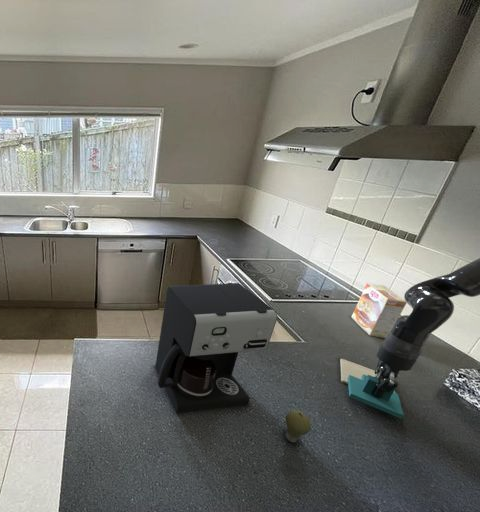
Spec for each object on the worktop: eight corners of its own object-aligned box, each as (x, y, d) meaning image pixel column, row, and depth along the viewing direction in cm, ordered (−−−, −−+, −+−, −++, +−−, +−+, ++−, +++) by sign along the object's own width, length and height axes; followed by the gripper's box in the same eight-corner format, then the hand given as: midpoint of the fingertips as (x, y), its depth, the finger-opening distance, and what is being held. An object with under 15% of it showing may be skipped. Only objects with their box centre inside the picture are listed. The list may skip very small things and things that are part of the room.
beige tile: (389, 379, 101) (390, 376, 100) (395, 405, 90) (397, 402, 90) (339, 361, 108) (341, 358, 108) (340, 383, 98) (342, 380, 98)
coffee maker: (164, 418, 83) (182, 320, 70) (143, 369, 101) (155, 283, 87) (248, 408, 87) (281, 314, 74) (215, 362, 105) (236, 280, 92)
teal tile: (393, 390, 92) (403, 375, 90) (401, 419, 82) (412, 403, 80) (347, 371, 99) (354, 357, 96) (349, 396, 89) (357, 381, 86)
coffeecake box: (349, 317, 137) (366, 282, 130) (367, 320, 135) (384, 285, 128) (368, 336, 124) (387, 298, 116) (387, 339, 122) (408, 301, 114)
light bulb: (274, 434, 80) (284, 409, 76) (286, 427, 82) (297, 403, 78) (293, 453, 75) (305, 427, 71) (306, 445, 77) (318, 420, 73)
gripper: (424, 369, 75) (395, 415, 81) (413, 343, 85) (388, 385, 91) (386, 356, 79) (361, 400, 85) (379, 332, 89) (358, 374, 96)
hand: (375, 392), depth 88 cm, fingers closed on teal tile, 2 cm apart
